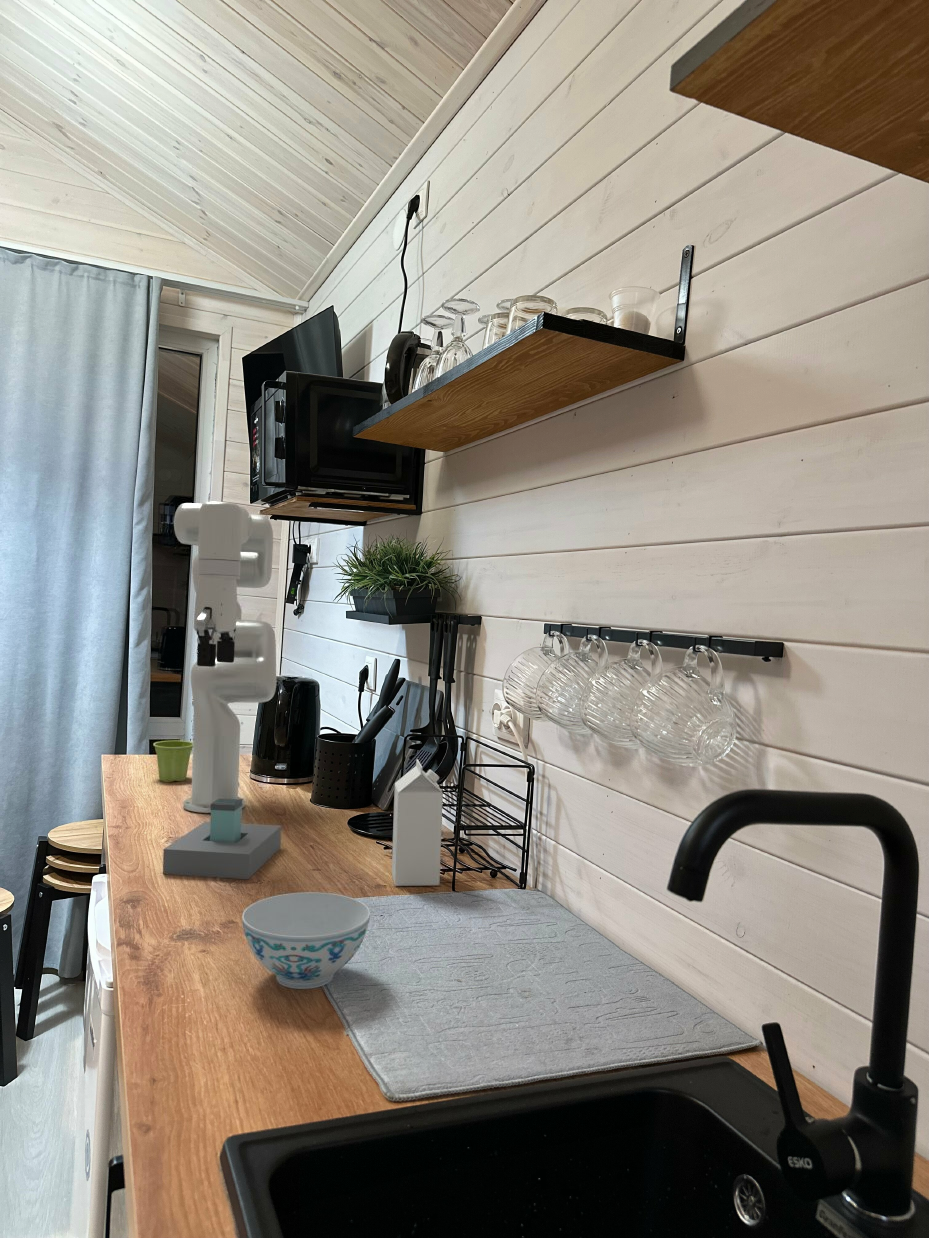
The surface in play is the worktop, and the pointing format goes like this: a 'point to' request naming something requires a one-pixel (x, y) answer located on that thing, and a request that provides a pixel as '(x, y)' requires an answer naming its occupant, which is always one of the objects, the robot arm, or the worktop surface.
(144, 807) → the worktop surface
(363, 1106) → the worktop surface
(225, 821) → the peg
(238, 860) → the socket block
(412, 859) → the milk carton
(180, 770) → the plant pot
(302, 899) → the chinaware
